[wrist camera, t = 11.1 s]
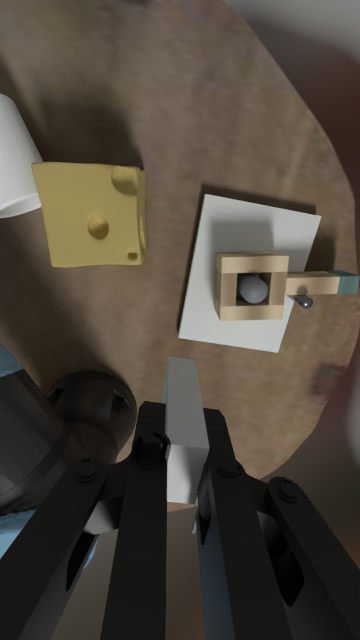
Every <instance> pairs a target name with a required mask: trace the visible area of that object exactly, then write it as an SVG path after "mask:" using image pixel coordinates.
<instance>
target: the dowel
mask: <svg viewBox="0 0 360 640" xmlns="http://www.w3.org/2000/svg"><path fill="white" fill-rule="evenodd" d="M286 296H287V297H289V298H290V299H292V300H293V301H294V302H296V303H297V304H299V305H300V306H302V307H303V308H306V309H307V308H310V307H311V306H312V304H313V301H312V299H311V298H309V297H307V296H306V295H286Z"/></svg>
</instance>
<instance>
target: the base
mask: <svg viewBox="0 0 360 640" xmlns="http://www.w3.org/2000/svg"><path fill="white" fill-rule="evenodd" d="M320 219H321V216H317V215H312V214H307V213H302V212H296V211H291V210H286V209H281V208H276V207H271V206H265V205H260V204H255V203H250V202H245V201H240V200H234V199H229V198H224V197H219V196H214V195H209V194H205V195H204V199H203V204H202V209H201V215H200V220H199V225H198V231H197V236H196V242H195V247H194V252H193V258H192V263H191V268H190V274H189V279H188V285H187V290H186V295H185V301H184V306H183V311H182V317H181V322H180V327H179V333H178V337H179V338H183V339H190V340H197V341H203V342H210V343H217V344H224V345H230V346H237V347H244V348H250V349H257V350H264V351H270V352H277V353H278V350H279V347H280V344H281V341H282V338H283V335H284V332H285V328H286V325H287V322H288V319H289V316H290V313H291V310H292V307H293V304H294V301H293V300H292V299H290V298H289V297H287V296H286V295H285V298H284V308H283V317H282V319H272V320H237V321H220V320H219V318H218V316H217V313H216V311H215V263H216V252H253V251H276V252H279V253H282V254H285V255H288V256H289V262H288V271H287V272H304V269H305V266H306V263H307V260H308V257H309V254H310V250H311V247H312V244H313V241H314V238H315V235H316V232H317V229H318V225H319V222H320ZM267 292H268V288H267V285H266V283H265V282H264V281H262V280H261V279H260V278H259V272H257V273H237V287H236V296H243V297H244V298H245V300H246V301H248V302H250V303H259V302H261V301H262V300H264V298H265V297H266V295H267Z"/></svg>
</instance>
